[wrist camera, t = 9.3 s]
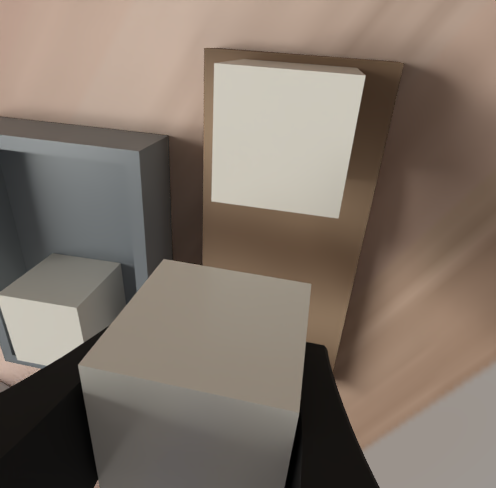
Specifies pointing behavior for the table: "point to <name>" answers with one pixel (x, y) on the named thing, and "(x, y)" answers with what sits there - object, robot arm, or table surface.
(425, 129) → the table surface
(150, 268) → the bin
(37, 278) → the cream matte cube
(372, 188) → the brown flat slab
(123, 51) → the table surface
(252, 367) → the off-white stacked cube
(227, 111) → the off-white block
